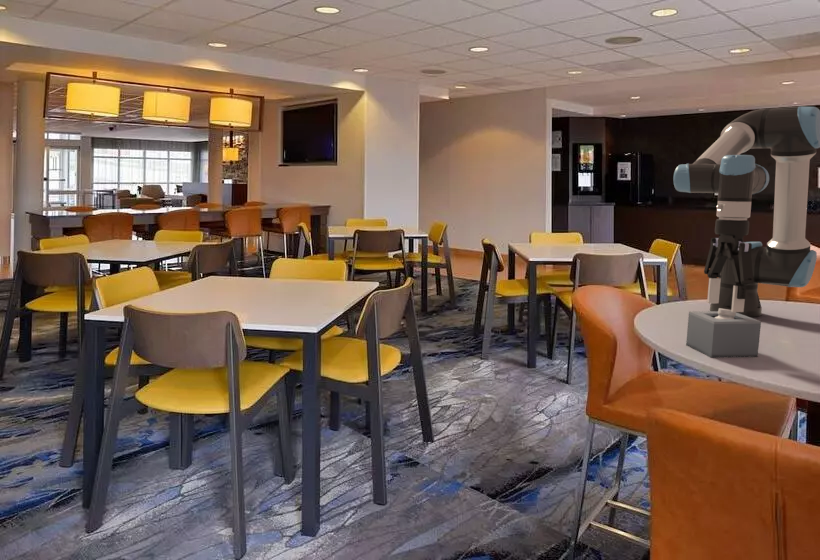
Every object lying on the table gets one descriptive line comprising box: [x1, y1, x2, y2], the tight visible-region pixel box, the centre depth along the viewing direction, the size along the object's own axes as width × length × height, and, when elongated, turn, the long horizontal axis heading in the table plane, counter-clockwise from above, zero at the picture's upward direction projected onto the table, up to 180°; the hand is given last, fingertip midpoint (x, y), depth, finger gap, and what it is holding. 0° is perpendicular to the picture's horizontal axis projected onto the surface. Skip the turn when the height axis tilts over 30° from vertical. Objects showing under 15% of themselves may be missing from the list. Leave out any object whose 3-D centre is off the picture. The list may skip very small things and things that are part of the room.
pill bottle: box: [715, 308, 736, 319], centre depth 167 cm, size 5×5×10 cm
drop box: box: [685, 310, 762, 359], centre depth 167 cm, size 12×12×9 cm
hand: (724, 307), depth 166 cm, fingers open, 10 cm apart
